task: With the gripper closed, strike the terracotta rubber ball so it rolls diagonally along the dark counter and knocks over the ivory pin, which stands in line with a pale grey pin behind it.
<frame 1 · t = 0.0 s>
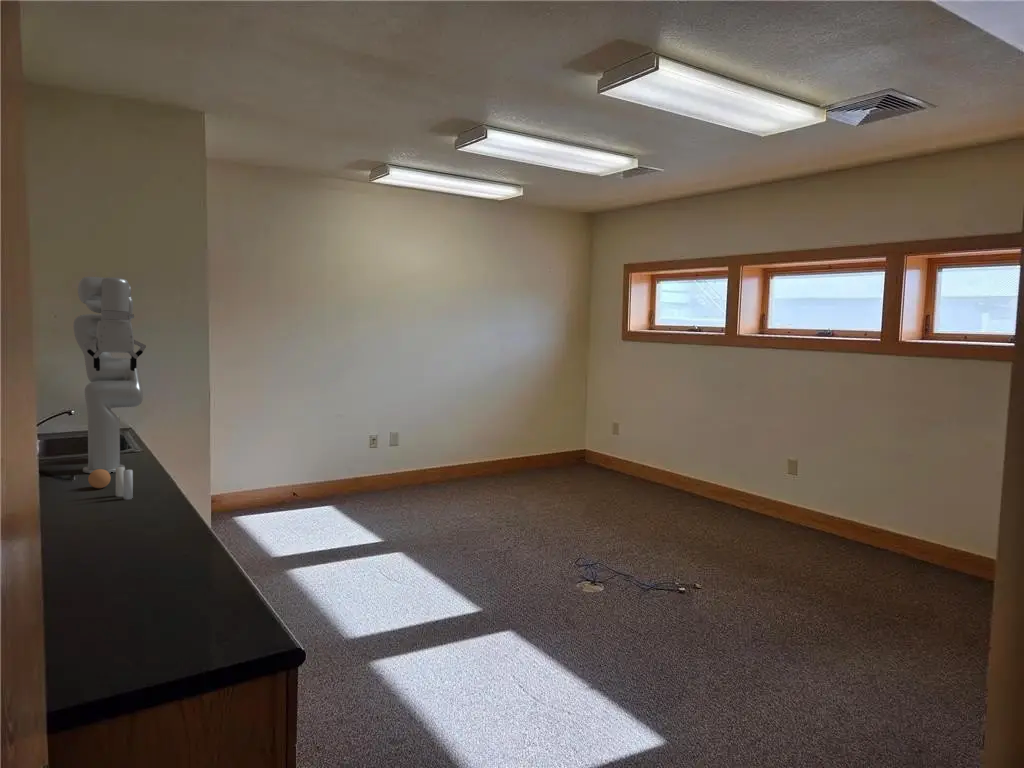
hand: (115, 370, 213), 37 cm above the countertop, tool pointing down, fingers open, 9 cm apart
pin 1: (120, 495, 201), on the countertop
candy bar box: (105, 460, 251), on the countertop
ball: (99, 478, 209), on the countertop
pin 2: (128, 498, 198), on the countertop
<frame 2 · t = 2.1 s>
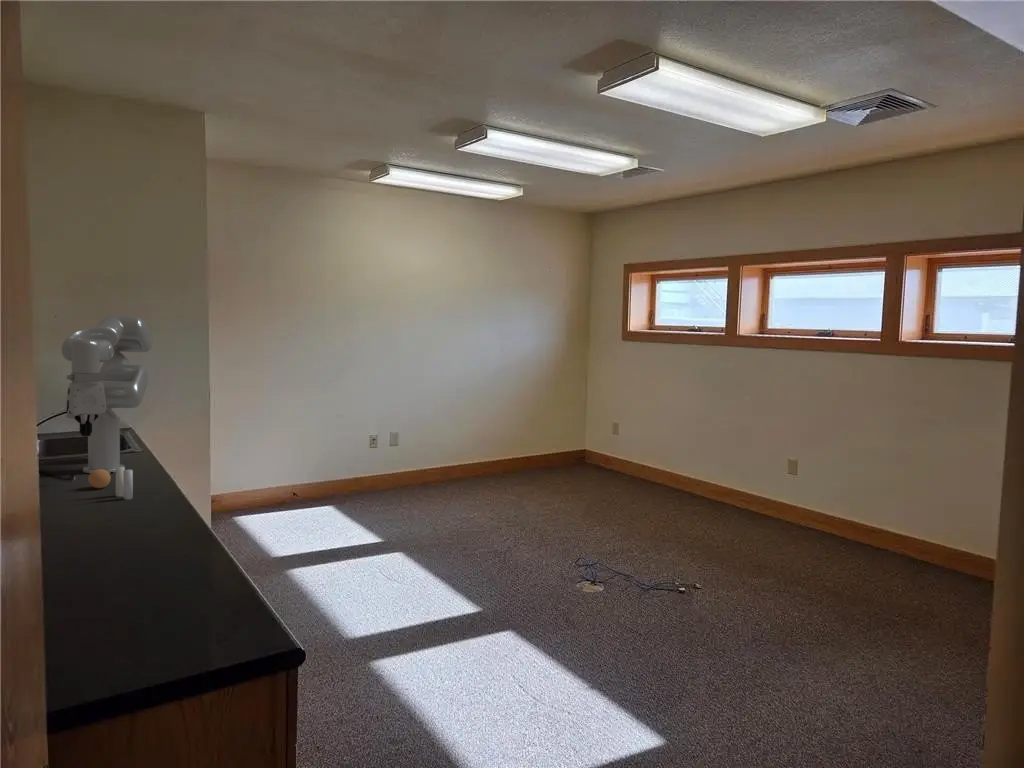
hand: (85, 435, 213), 16 cm above the countertop, tool pointing down, fingers closed
nothing on the countertop moved.
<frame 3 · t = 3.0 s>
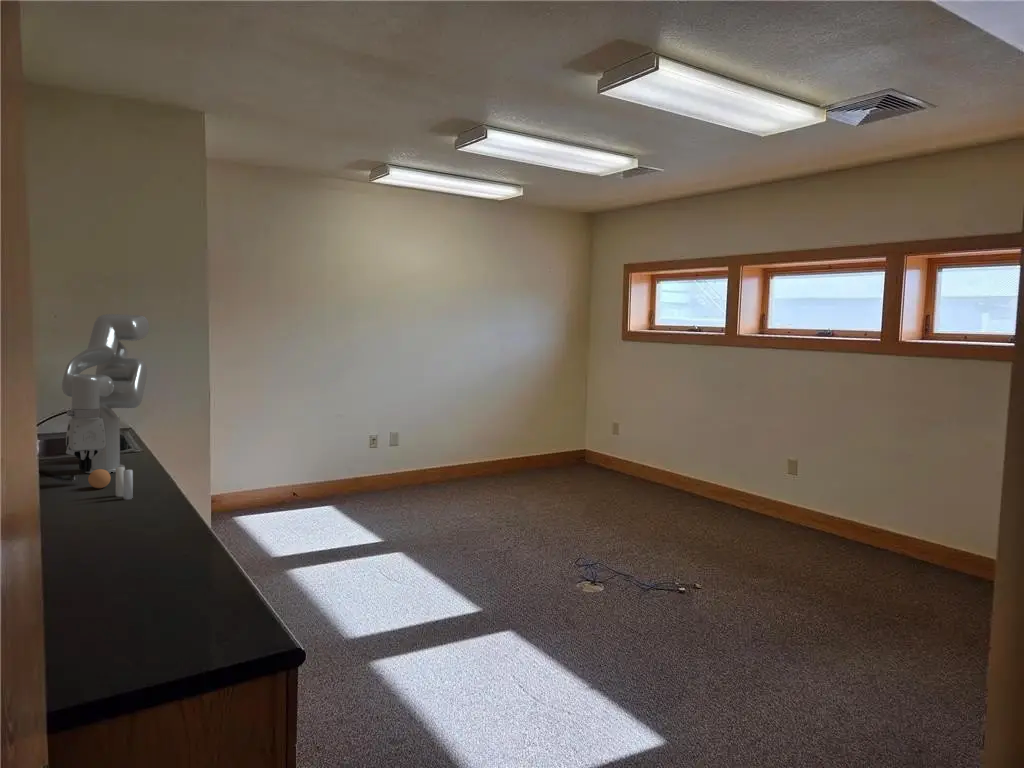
hand: (85, 471, 213), 4 cm above the countertop, tool pointing down, fingers closed
nothing on the countertop moved.
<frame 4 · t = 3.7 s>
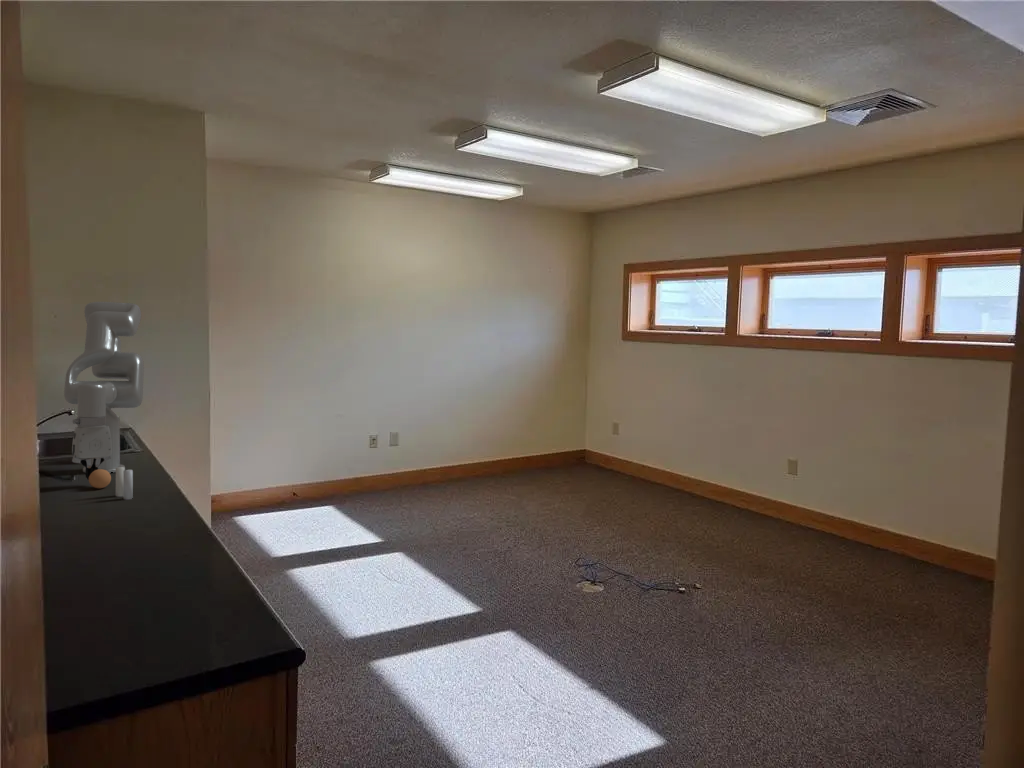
hand: (91, 479, 211), 2 cm above the countertop, tool pointing down, fingers closed
ball: (99, 478, 209), on the countertop, touching gripper
everything else where it was.
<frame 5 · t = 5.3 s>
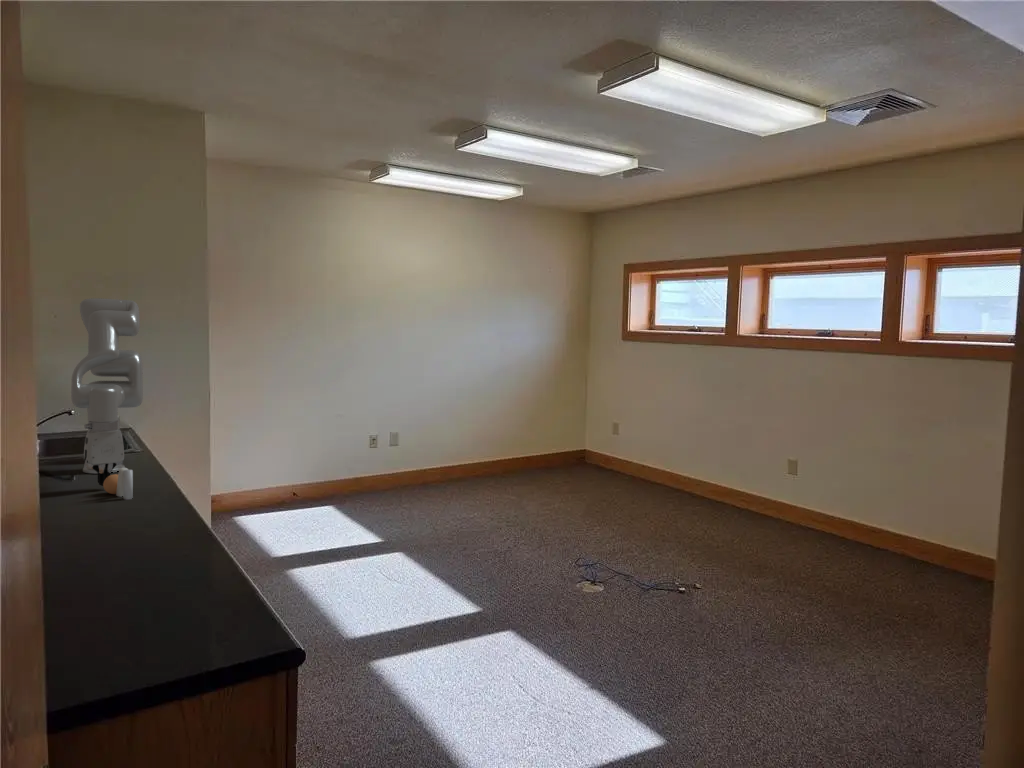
hand: (103, 484, 207), 2 cm above the countertop, tool pointing down, fingers closed
pin 1: (120, 494, 201), on the countertop, tilted 16°
ball: (114, 484, 203), on the countertop
everything else where it was.
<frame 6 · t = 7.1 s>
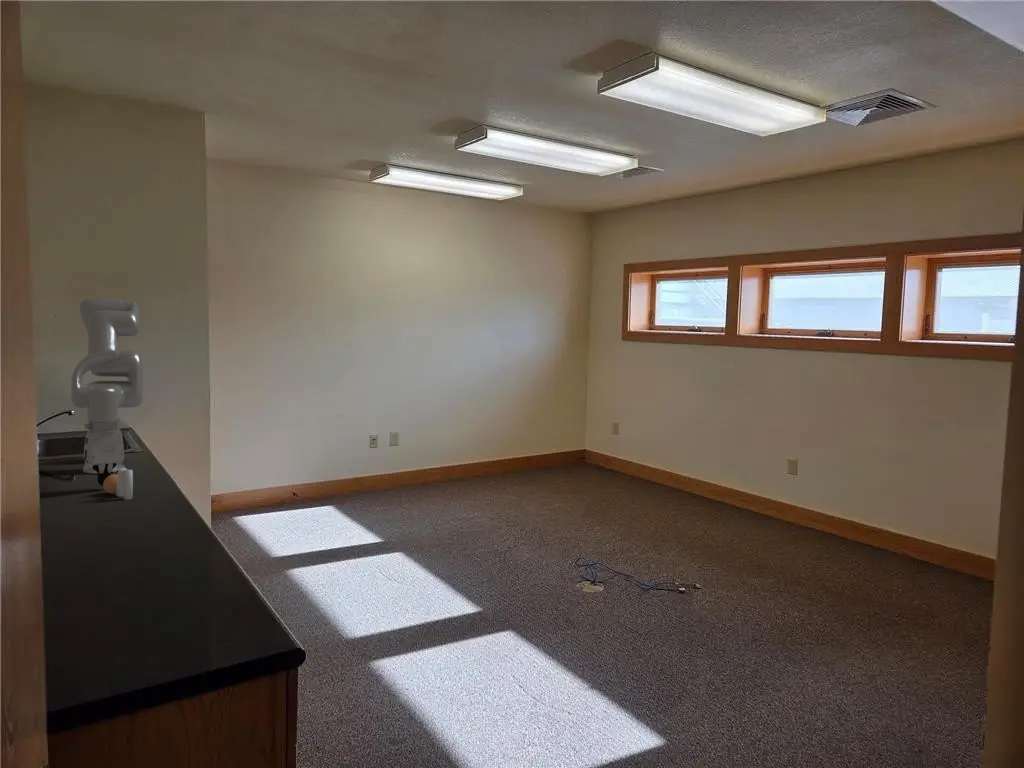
hand: (103, 484, 207), 2 cm above the countertop, tool pointing down, fingers closed
pin 1: (120, 494, 201), on the countertop, tilted 17°, touching pin 2
pin 2: (128, 498, 198), on the countertop, touching pin 1
everything else where it was.
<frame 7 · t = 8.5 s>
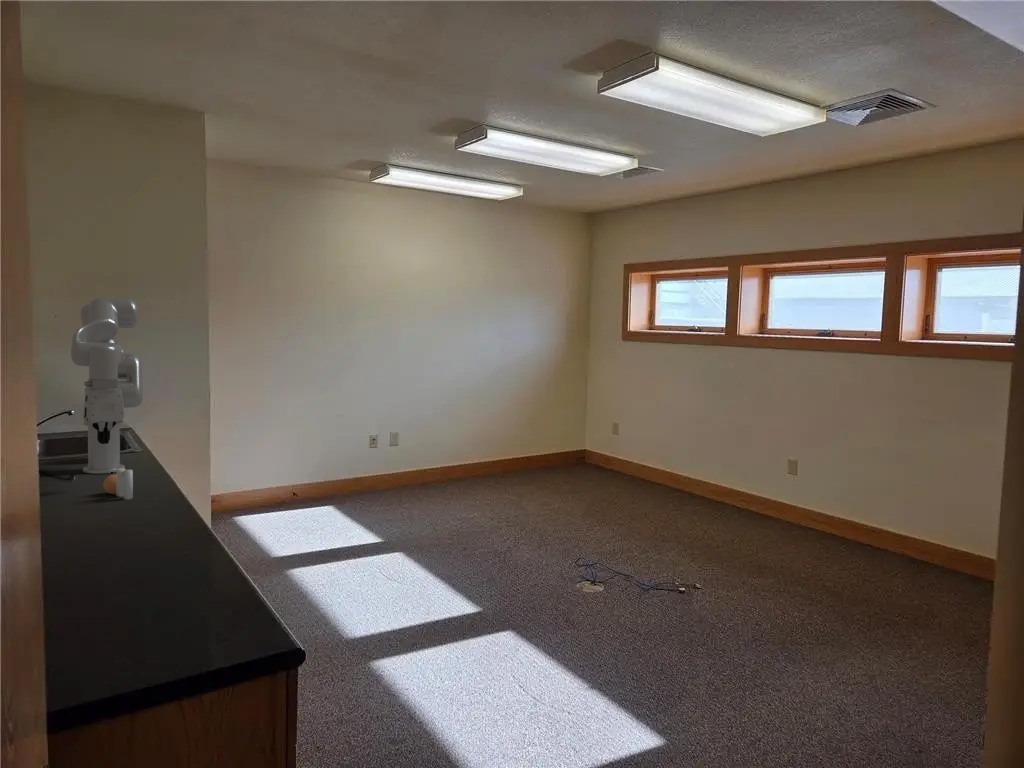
hand: (103, 443, 207), 15 cm above the countertop, tool pointing down, fingers closed
pin 1: (120, 494, 201), on the countertop, tilted 19°
pin 2: (128, 498, 198), on the countertop
everything else where it was.
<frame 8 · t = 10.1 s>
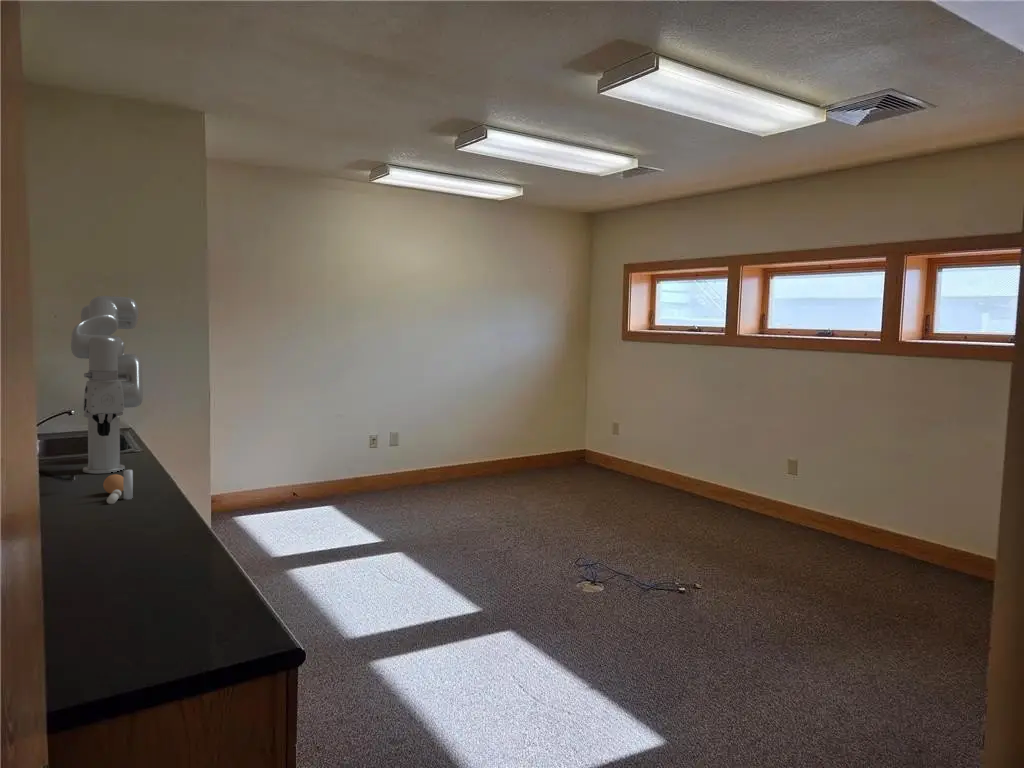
hand: (103, 435, 206), 17 cm above the countertop, tool pointing down, fingers closed
pin 1: (116, 493, 199), point 1 cm above the countertop, tilted 90°
everything else where it was.
at the end: pin 1 tilted 90°; pin 1 never touched the robot; ball moved 10.7 cm from its start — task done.
